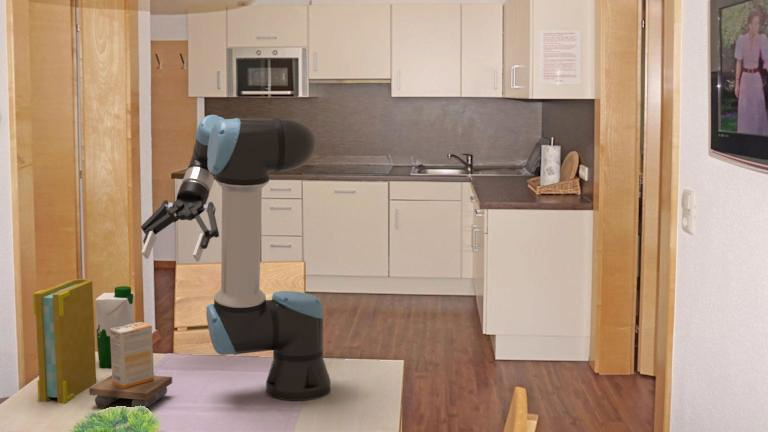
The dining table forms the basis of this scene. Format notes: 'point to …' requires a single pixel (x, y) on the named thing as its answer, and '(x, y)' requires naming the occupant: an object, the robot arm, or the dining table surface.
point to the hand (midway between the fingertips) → (170, 257)
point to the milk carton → (112, 319)
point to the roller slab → (130, 391)
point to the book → (65, 339)
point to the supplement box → (131, 354)
